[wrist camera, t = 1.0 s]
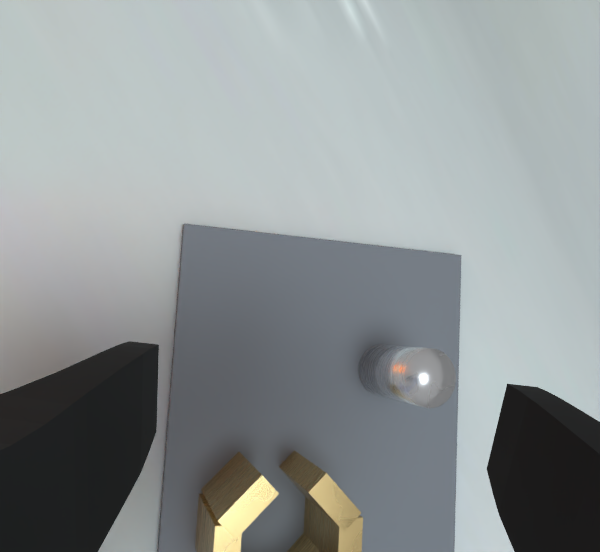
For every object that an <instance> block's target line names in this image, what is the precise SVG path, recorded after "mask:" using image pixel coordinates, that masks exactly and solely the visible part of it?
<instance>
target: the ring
mask: <svg viewBox="0 0 600 552" xmlns="http://www.w3.org/2000/svg"><path fill="white" fill-rule="evenodd" d="M279 468H280V469H281V470H282V471H283V472H284V473H285V474H286V475H287V477H288V478H289V479H290V480H291V481H292V482H293V483H294V484H295V485H296V487H297V488H298V489H299V490H300V491H301V492H302V493H303V494H304V496H305V514H304V533H303V534H302V535H301V536H300V538H299V539H298V540H297V541H296V542H295V543H294V544H293V545H292V546H291V548H290V549H289V550H288V551H287V552H362V531H363V517H362V516H360V514H361V512H360V511H359V509H358V508H357V507H356V506H355V505H354V504H353V503H352V501H351V500H350V499H349V498H348V497H347V496H346V495H345V493H344V492H343V491H342V490H341V489H340V488H339V487H338V485H337V484H336V483H335V482H334V481H333V480H332V479H331V478H330V476H329V475H328V474H327V473H326V472H324V471H323V470H322V469H320V468H319V467H317V466H316V465H314V464H313V463H312V462H310V461H309V460H307V459H306V458H304V457H303V456H302V455H300V454H299V453H297V452H296V451H294V452H293V453H292V454H291V455H290V456H289V457H288V458H287V459H286V460H285V461H284V462H283V463H282V464H281V465H280V466H279ZM201 490H202V492H203V494H199V499H198V513H197V527H196V541H195V549H196V552H241V536H242V532H243V531H244V530H245V529H246V528H247V527H248V526H249V525H250V524H251V523H252V522H253V521H254V520H255V519H256V518H257V517H258V516H259V514H260V513H261V512H262V511H263V510H264V509H265V508H266V507H267V506H268V505H269V504H270V503H271V502H272V501H273V500H274V499H275V498H276V496H277V495H278V494H279V493H278V492H277V491H276V490H275V489H274V487H273V486H272V485H271V484H270V483H269V482H268V481H267V480H266V479H265V478H264V476H263V475H262V474H261V473H260V472H259V471H258V470H257V469H256V468H255V467H254V466H253V465H252V464H251V463H250V462H249V461H248V460H247V459H246V458H245V457H244V456H243V455H242V454H241V453H240V452H238V453H237V454H236V455H235V456H234V457H233V458H232V459H231V460H230V461H229V462H228V463H227V464H226V465H225V466H224V467H223V468H222V469H221V470H220V471H219V472H218V473H217V474H216V475H215V476H214V477H213V478H212V479H211V480H210V481H209V482H208V483H207V484H206V485H205V486H204V487H203V488H202V489H201Z"/></svg>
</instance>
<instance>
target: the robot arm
mask: <svg viewBox="0 0 600 552" xmlns="http://www.w3.org/2000/svg"><path fill="white" fill-rule="evenodd" d="M158 350H159V345H156V344H147V343H138V342H126V343H123V344H120V345H117V346H115V347H112V348H110V349H108V350H106V351H103V352H101V353H99V354H97V355H94V356H92V357H90V358H88V359H86V360H83V361H81V362H79V363H77V364H74V365H72V366H70V367H68V368H65V369H63V370H61V371H59V372H56V373H54V374H51V375H49V376H46V377H44V378H41V379H39V380H36V381H34V382H31V383H29V384H26V385H24V386H21V387H19V388H16V389H14V390H11V391H9V392H6V393H3V394H0V552H98V550H99V548H100V547H101V545H102V543H103V541H104V539H105V538H106V536H107V534H108V532H109V530H110V528H111V527H112V525H113V523H114V521H115V519H116V517H117V516H118V514H119V512H120V510H121V508H122V507H123V505H124V503H125V501H126V499H127V497H128V495H129V494H130V492H131V490H132V488H133V486H134V484H135V482H136V481H137V479H138V477H139V475H140V473H141V471H142V468H143V465H144V463H145V460H146V458H147V455H148V453H149V450H150V447H151V444H152V442H153V439H154V436H155V433H156V423H157V386H158ZM487 471H488V475H489V479H490V483H491V487H492V491H493V495H494V499H495V502H496V505H497V509H498V512H499V515H500V518H501V520H502V523H503V525H504V527H505V530H506V532H507V535H508V537H509V539H510V542H511V544H512V546H513V549H514V551H515V552H600V422H599V421H597V420H595V419H594V418H592V417H590V416H589V415H587V414H586V413H584V412H582V411H581V410H579V409H577V408H576V407H574V406H572V405H571V404H569V403H567V402H565V401H564V400H562V399H560V398H558V397H557V396H555V395H553V394H551V393H549V392H547V391H545V390H543V389H540V388H538V387H530V386H521V385H512V384H507V387H506V392H505V396H504V400H503V404H502V408H501V412H500V417H499V421H498V425H497V429H496V433H495V437H494V442H493V446H492V450H491V454H490V458H489V462H488V466H487Z"/></svg>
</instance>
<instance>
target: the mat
mask: <svg viewBox="0 0 600 552" xmlns="http://www.w3.org/2000/svg"><path fill="white" fill-rule="evenodd" d="M460 287H461V255H454V254H446V253H437V252H428V251H419V250H410V249H402V248H393V247H384V246H375V245H366V244H358V243H349V242H340V241H331V240H323V239H314V238H305V237H296V236H287V235H279V234H270V233H261V232H252V231H243V230H235V229H226V228H217V227H208V226H200V225H191V224H184V225H183V234H182V247H181V259H180V272H179V285H178V298H177V311H176V323H175V336H174V349H173V362H172V375H171V388H170V400H169V413H168V426H167V439H166V452H165V464H164V477H163V490H162V503H161V516H160V528H159V541H158V552H196V549H195V541H196V527H197V513H198V499H199V494H203V492H202V490H201V489H202V488H203V487H204V486H205V485H206V484H207V483H208V482H209V481H210V480H211V479H212V478H213V477H214V476H215V475H216V474H217V473H218V472H219V471H220V470H221V469H222V468H223V467H224V466H225V465H226V464H227V463H228V462H229V461H230V460H231V459H232V458H233V457H234V456H235V455H236V454H237V453H238V452H240V453H241V454H242V455H243V456H244V457H245V458H246V459H247V460H248V461H249V462H250V463H251V464H252V465H253V466H254V467H255V468H256V469H257V470H258V471H259V472H260V473H261V474H262V475H263V476H264V478H265V479H266V480H267V481H268V482H269V483H270V484H271V485H272V486H273V487H274V489H275V490H276V491H277V492H278V493H279V494H278V495H277V496H276V498H275V499H274V500H273V501H272V502H271V503H270V504H269V505H268V506H267V507H266V508H265V509H264V510H263V511H262V512H261V513H260V514H259V516H258V517H257V518H256V519H255V520H254V521H253V522H252V523H251V524H250V525H249V526H248V527H247V528H246V529H245V530H244V531H243V532H242V536H241V552H287V551H288V550H289V549H290V548H291V546H292V545H293V544H294V543H295V542H296V541H297V540H298V539H299V538H300V536H301V535H302V534H303V533H304V514H305V496H304V494H303V493H302V492H301V491H300V490H299V489H298V488H297V487H296V485H295V484H294V483H293V482H292V481H291V480H290V479H289V478H288V477H287V475H286V474H285V473H284V472H283V471H282V470H281V469H280V468H279V466H280V465H281V464H282V463H283V462H284V461H285V460H286V459H287V458H288V457H289V456H290V455H291V454H292V453H293V452H294V451H296V452H297V453H299V454H300V455H302V456H303V457H304V458H306V459H307V460H309V461H310V462H312V463H313V464H314V465H316V466H317V467H319V468H320V469H322V470H323V471H324V472H326V473H327V474H328V475H329V476H330V478H331V479H332V480H333V481H334V482H335V483H336V484H337V485H338V487H339V488H340V489H341V490H342V491H343V492H344V493H345V495H346V496H347V497H348V498H349V499H350V500H351V501H352V503H353V504H354V505H355V506H356V507H357V508H358V509H359V511H360V512H361V514H360V516H362V517H363V531H362V552H454V541H455V499H456V456H457V414H458V371H459V329H460ZM375 345H393V346H406V347H419V348H432V349H437V350H440V351H442V352H443V353H445V354H446V355H447V356H448V357H449V358H450V360H451V361H452V363H453V366H454V368H455V373H456V383H455V388H454V391H453V393H452V395H451V397H450V398H449V399H448V400H447V401H446V402H445V403H444V404H443V405H441V406H439V407H436V408H424V407H421V406H417V405H413V404H409V403H406V402H402V401H398V400H395V399H391V398H387V397H383V396H380V395H376V394H373V393H371V392H369V391H368V390H367V389H366V388H365V387H364V386H363V385H362V383H361V381H360V378H359V373H358V368H359V362H360V359H361V357H362V356H363V354H364V353H365V352H366V351H367V350H368V349H369V348H371V347H373V346H375Z"/></svg>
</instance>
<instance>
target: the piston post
mask: <svg viewBox="0 0 600 552" xmlns="http://www.w3.org/2000/svg"><path fill="white" fill-rule="evenodd" d="M358 373H359V378H360V381H361V383H362V385H363V386H364V387H365V388H366V389H367V390H368V391H369V392H371V393H373V394H376V395H380V396H383V397H387V398H391V399H395V400H398V401H402V402H406V403H409V404H413V405H417V406H421V407H424V408H436V407H439V406H441V405H443V404H444V403H445V402H446V401H447V400H448V399H449V398H450V397H451V395H452V393H453V391H454V388H455V383H456V373H455V368H454V366H453V363H452V361H451V360H450V358H449V357H448V356H447V355H446V354H445V353H443V352H442V351H440V350H437V349H432V348H419V347H406V346H393V345H375V346H373V347H371V348H369V349H368V350H367V351H366V352H365V353H364V354H363V356H362V357H361V359H360V362H359V368H358Z"/></svg>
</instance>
